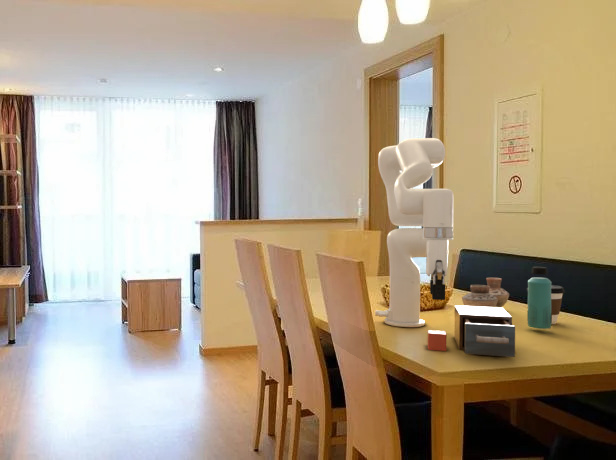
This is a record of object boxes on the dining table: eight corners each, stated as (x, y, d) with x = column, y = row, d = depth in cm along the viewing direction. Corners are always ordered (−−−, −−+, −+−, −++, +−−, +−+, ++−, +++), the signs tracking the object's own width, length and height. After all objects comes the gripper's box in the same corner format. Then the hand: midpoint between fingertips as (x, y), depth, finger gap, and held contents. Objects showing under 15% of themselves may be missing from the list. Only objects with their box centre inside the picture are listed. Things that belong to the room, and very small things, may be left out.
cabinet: (511, 352, 152) (512, 316, 152) (459, 349, 156) (459, 314, 156) (502, 340, 166) (502, 307, 166) (454, 337, 170) (454, 305, 170)
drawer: (518, 362, 140) (519, 330, 140) (467, 358, 144) (467, 327, 144) (505, 344, 157) (505, 316, 157) (459, 341, 161) (460, 314, 161)
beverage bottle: (555, 334, 174) (556, 268, 173) (531, 333, 175) (532, 267, 174) (546, 329, 180) (547, 265, 179) (523, 328, 181) (524, 265, 181)
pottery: (514, 310, 213) (514, 278, 212) (491, 320, 195) (491, 285, 194) (481, 307, 220) (481, 275, 220) (456, 316, 203) (457, 282, 202)
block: (428, 349, 156) (428, 333, 156) (427, 345, 160) (427, 329, 160) (446, 351, 155) (446, 334, 155) (445, 347, 159) (445, 330, 159)
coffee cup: (546, 318, 197) (547, 283, 197) (572, 325, 187) (573, 288, 186) (518, 319, 195) (519, 284, 195) (543, 326, 185) (543, 289, 184)
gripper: (421, 232, 166) (421, 291, 166) (424, 235, 149) (423, 301, 150) (450, 232, 163) (449, 292, 164) (456, 235, 147) (455, 302, 148)
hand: (437, 296), depth 157 cm, fingers open, 9 cm apart
